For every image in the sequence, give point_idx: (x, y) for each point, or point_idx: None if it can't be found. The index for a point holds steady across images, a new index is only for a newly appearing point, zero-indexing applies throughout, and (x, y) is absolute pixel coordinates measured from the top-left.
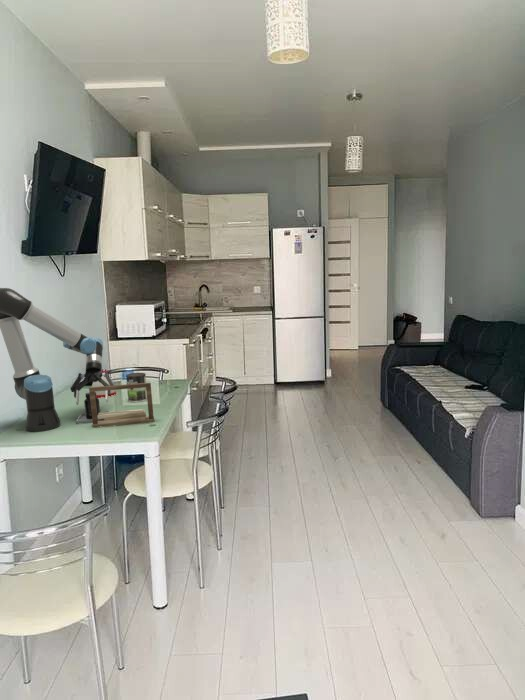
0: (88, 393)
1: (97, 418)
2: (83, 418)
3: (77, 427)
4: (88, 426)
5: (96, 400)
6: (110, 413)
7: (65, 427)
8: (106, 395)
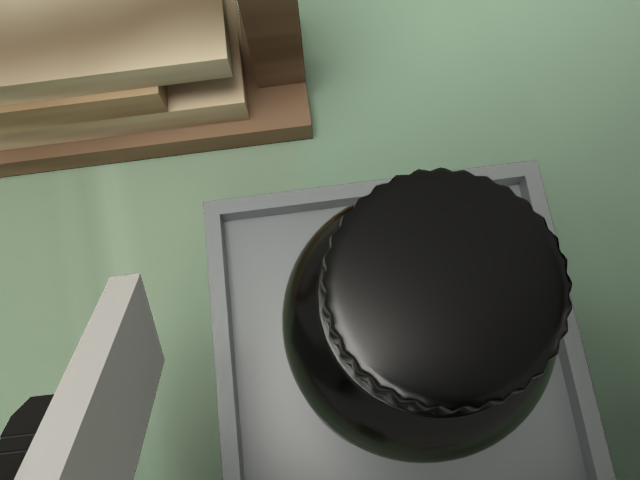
0: (493, 263)
1: (252, 59)
2: None
3: (458, 54)
4: (350, 67)
5: (304, 249)
6: (72, 9)
7: (593, 75)
8: (99, 327)
